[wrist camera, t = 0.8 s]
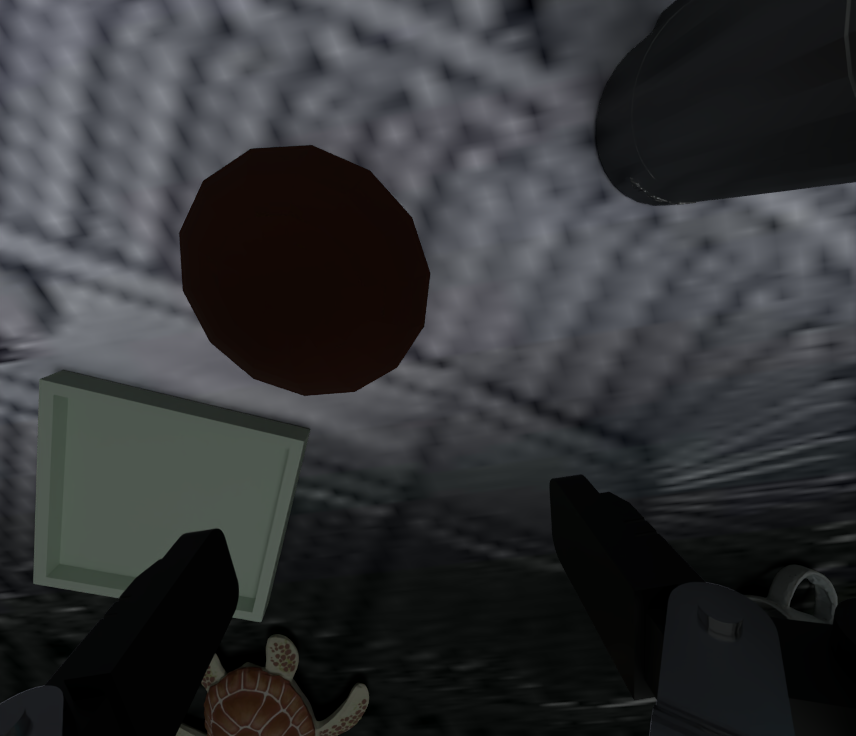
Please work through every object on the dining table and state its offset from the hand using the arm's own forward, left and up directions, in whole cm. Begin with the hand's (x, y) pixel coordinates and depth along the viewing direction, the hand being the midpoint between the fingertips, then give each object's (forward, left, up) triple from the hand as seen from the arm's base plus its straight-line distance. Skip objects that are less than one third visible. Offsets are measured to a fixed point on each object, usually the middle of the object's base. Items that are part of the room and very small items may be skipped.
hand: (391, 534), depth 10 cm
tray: (+15, -12, -18) cm, 27 cm away
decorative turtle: (+34, -2, -19) cm, 39 cm away
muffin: (-4, -5, -18) cm, 19 cm away
